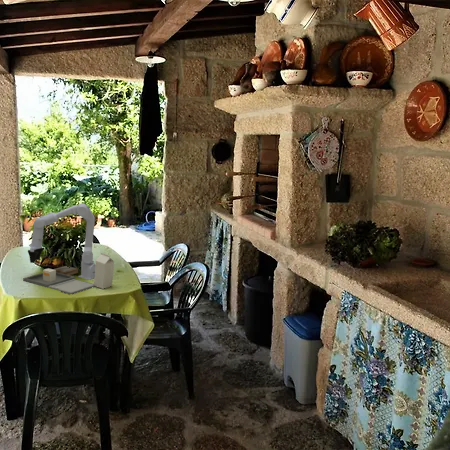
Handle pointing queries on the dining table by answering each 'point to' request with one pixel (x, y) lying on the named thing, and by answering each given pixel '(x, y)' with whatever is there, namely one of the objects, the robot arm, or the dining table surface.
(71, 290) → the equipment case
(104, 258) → the milk carton
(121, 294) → the dining table surface
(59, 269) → the stand
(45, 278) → the block
